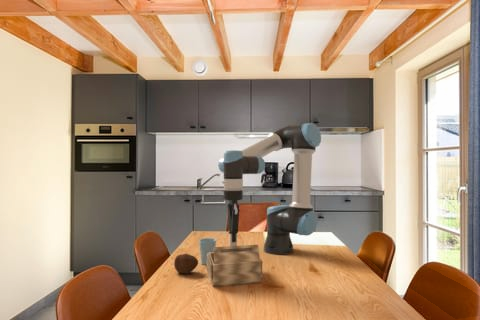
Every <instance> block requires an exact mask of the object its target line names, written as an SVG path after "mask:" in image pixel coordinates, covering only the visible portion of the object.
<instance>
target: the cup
mask: <svg viewBox="0 0 480 320" xmlns="http://www.w3.org/2000/svg"><path fill="white" fill-rule="evenodd" d="M198 242H199V252H200V259H201V260H200V261H201V263H200V264H202V266H203V265H204V266H207V254H208V253H209V252H214V248H213V247H217V239H215V238H212V237H208V238H200V239H199V240H198Z"/></svg>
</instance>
